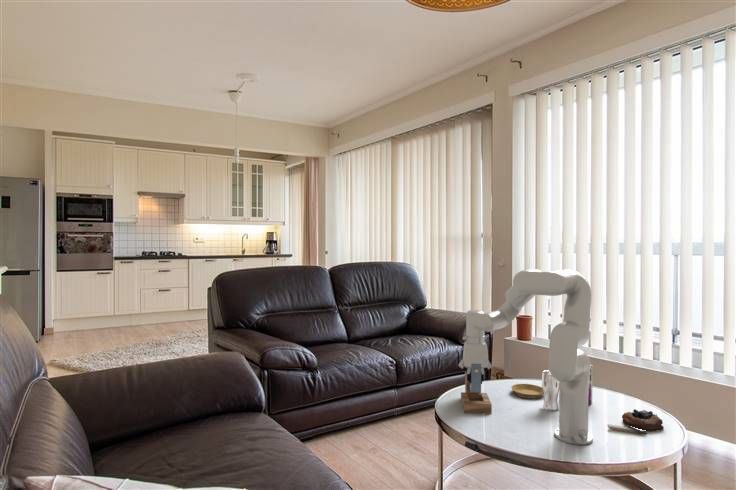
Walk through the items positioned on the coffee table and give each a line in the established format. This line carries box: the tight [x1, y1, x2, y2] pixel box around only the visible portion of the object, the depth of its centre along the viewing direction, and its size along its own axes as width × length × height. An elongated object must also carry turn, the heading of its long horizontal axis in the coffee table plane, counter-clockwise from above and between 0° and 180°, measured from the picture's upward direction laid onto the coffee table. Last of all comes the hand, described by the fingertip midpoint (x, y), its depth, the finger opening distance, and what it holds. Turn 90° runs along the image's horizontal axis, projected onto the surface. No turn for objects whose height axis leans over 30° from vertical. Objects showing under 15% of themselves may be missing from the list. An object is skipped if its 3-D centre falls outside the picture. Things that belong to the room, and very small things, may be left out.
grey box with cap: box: [470, 364, 482, 393], centre depth 196 cm, size 7×4×12 cm, turn 174°
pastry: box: [621, 408, 665, 432], centre depth 176 cm, size 11×12×6 cm
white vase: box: [541, 369, 560, 412], centre depth 194 cm, size 7×7×15 cm
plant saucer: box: [511, 383, 544, 399], centre depth 211 cm, size 15×15×3 cm
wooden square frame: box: [460, 367, 493, 415], centre depth 199 cm, size 20×11×20 cm, turn 174°
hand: (475, 382), depth 196 cm, fingers closed on grey box with cap, 4 cm apart
